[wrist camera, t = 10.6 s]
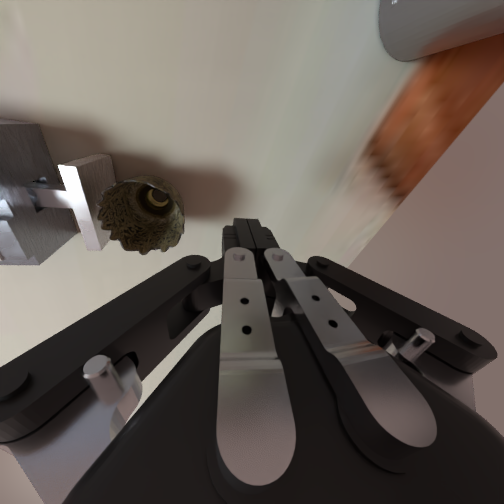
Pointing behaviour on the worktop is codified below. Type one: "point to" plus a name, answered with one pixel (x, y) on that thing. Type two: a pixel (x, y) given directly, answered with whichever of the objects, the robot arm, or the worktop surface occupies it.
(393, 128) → the worktop surface
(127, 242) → the cup
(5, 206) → the gauge housing
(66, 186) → the plunger
